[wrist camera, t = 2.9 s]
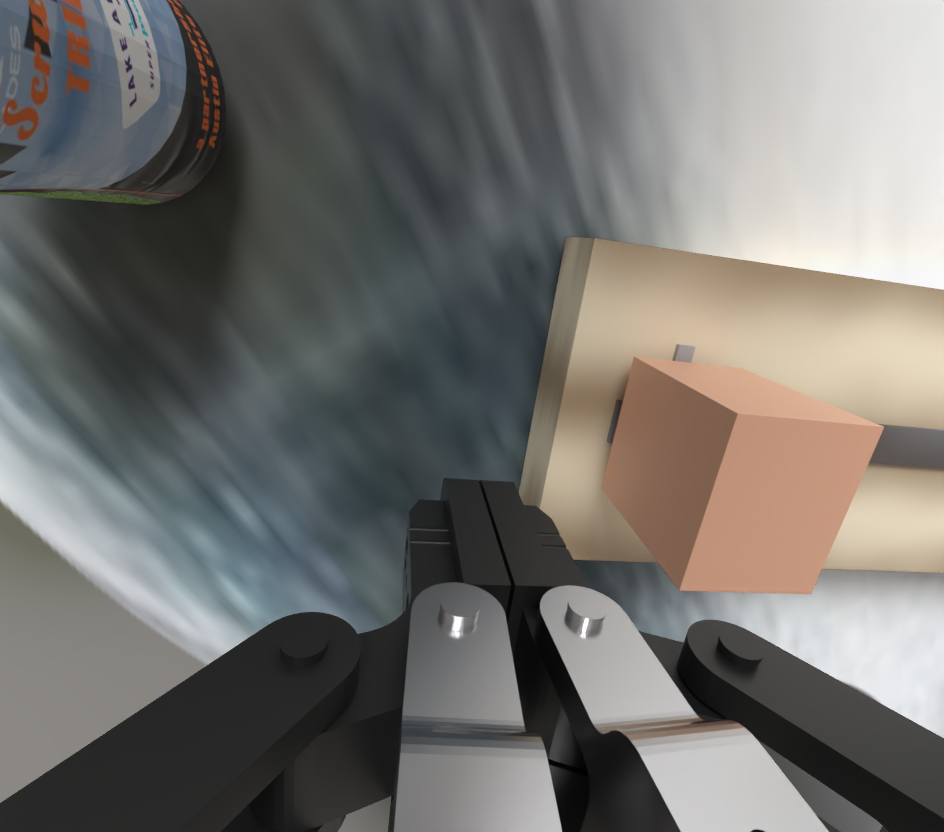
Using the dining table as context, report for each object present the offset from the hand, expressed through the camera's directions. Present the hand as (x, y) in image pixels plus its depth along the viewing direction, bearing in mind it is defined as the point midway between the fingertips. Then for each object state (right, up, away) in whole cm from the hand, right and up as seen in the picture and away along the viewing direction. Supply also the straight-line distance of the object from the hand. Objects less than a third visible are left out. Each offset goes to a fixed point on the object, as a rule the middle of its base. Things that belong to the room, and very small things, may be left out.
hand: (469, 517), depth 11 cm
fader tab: (+7, +2, +7) cm, 10 cm away
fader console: (+15, +2, +12) cm, 20 cm away
